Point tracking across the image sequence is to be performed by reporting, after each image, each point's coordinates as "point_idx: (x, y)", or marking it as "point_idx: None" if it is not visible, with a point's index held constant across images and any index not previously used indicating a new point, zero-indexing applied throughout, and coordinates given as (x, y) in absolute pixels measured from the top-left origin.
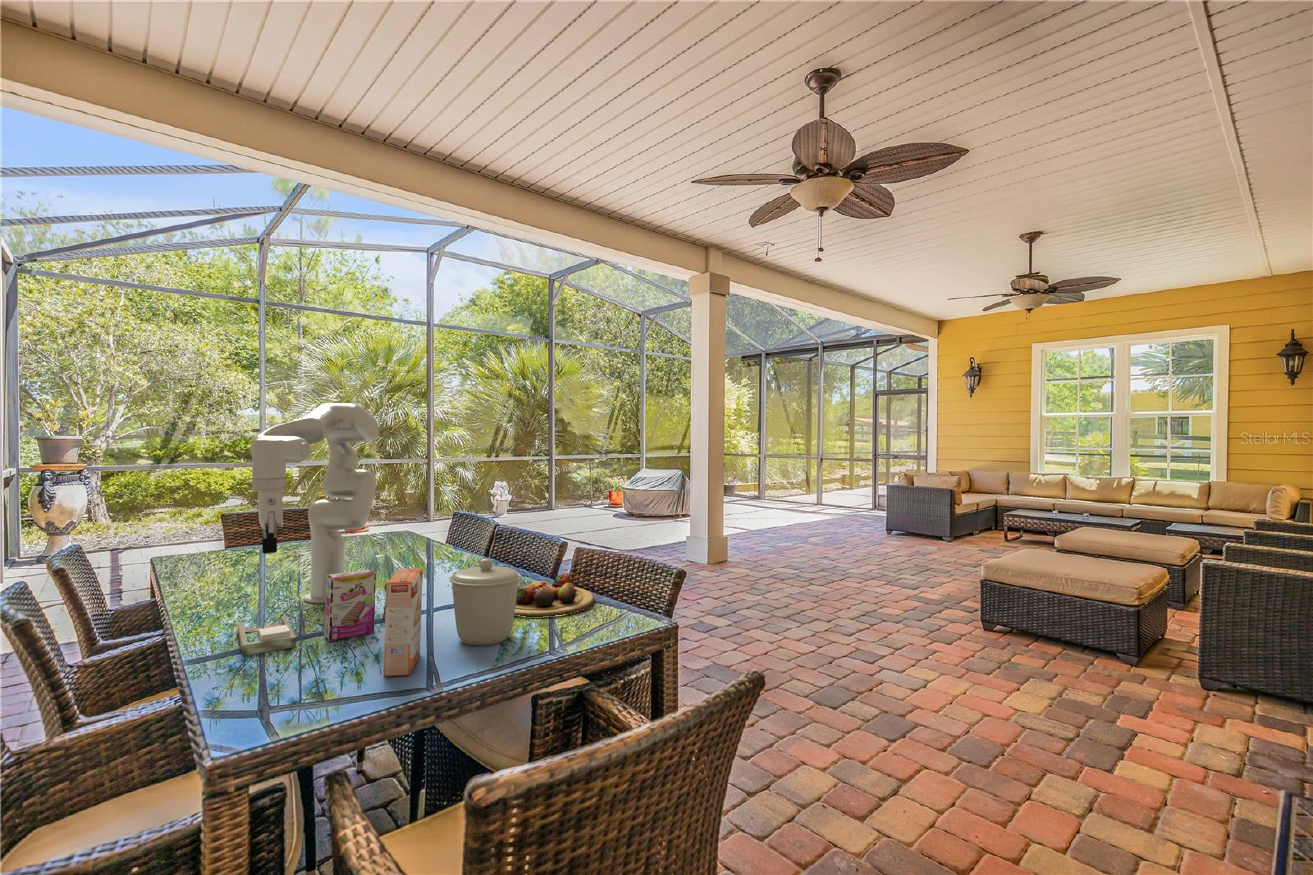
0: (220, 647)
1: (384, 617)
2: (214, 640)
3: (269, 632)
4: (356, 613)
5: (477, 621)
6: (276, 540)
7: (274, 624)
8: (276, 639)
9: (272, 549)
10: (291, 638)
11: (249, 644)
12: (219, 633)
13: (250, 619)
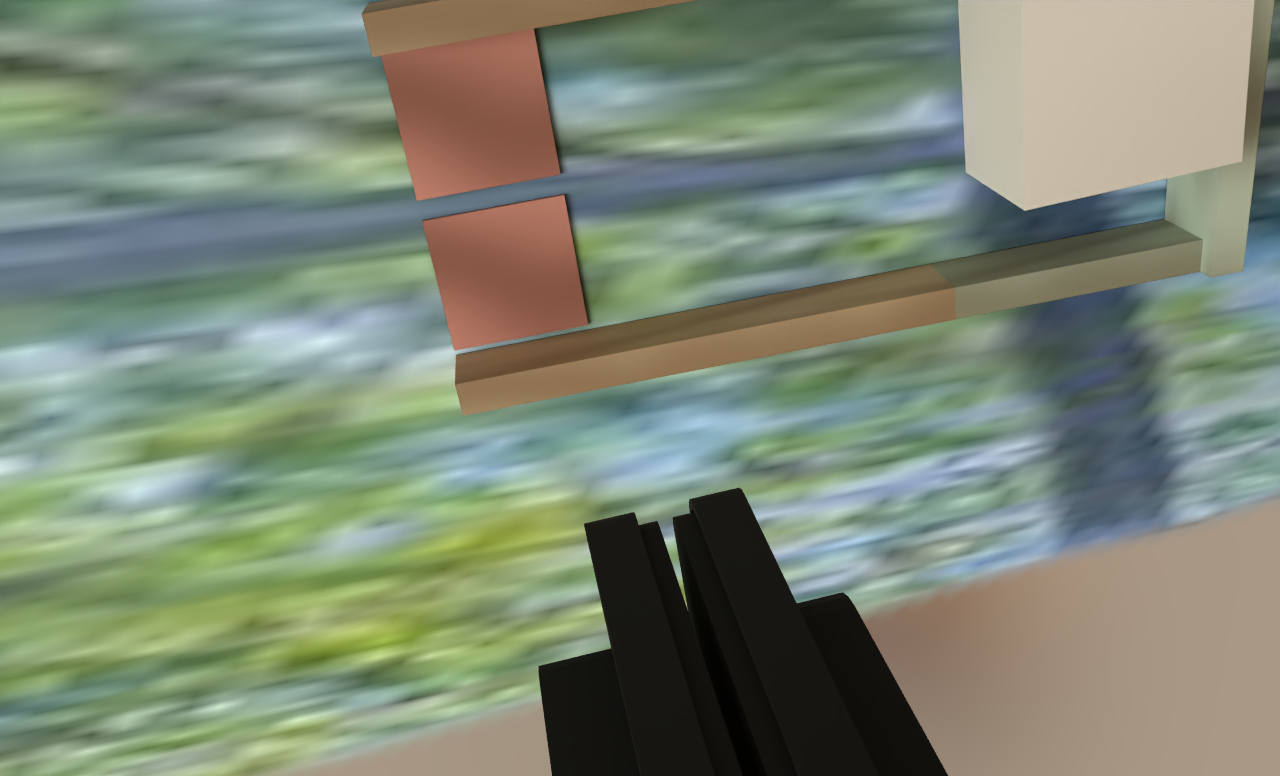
0: (899, 413)
1: None
2: (696, 483)
3: (1193, 105)
4: None
5: None
6: (847, 711)
7: (404, 107)
8: (1263, 30)
9: (850, 606)
10: None
11: (1247, 225)
12: (513, 489)
13: (117, 341)
